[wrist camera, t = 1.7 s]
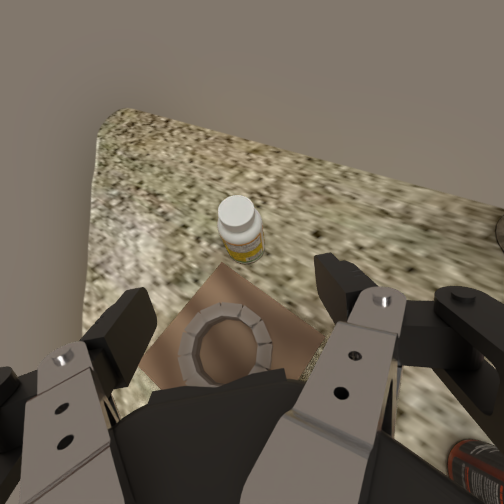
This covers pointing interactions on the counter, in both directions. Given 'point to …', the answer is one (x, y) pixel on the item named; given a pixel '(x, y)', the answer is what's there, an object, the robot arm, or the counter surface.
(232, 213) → the supplement bottle
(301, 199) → the counter surface
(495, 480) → the supplement bottle
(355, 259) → the counter surface
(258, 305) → the ring seat
